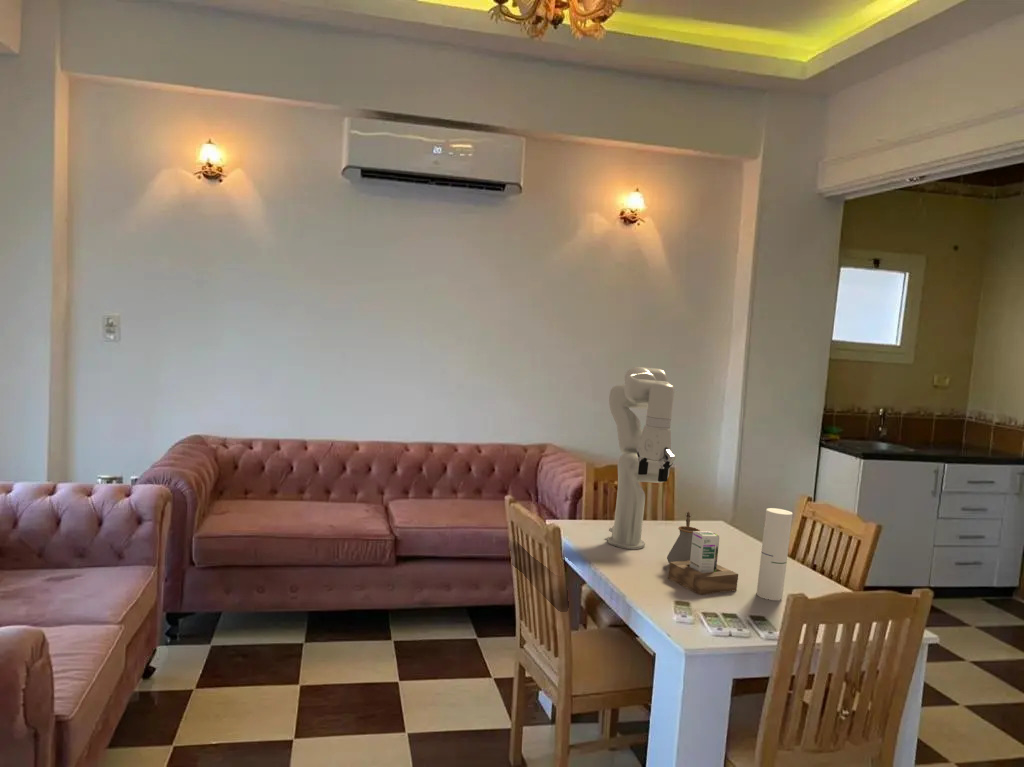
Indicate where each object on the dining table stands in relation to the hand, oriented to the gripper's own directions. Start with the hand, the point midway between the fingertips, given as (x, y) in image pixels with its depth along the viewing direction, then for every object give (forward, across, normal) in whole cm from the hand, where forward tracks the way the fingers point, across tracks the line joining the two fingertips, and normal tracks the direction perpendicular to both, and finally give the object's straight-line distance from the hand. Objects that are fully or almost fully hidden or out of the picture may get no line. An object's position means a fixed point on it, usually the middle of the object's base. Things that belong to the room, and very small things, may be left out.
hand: (652, 477), depth 234 cm
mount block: (+28, +18, +8) cm, 34 cm away
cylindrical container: (+28, +31, +22) cm, 47 cm away
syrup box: (+27, +18, +8) cm, 34 cm away
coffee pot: (+28, +1, +16) cm, 33 cm away
